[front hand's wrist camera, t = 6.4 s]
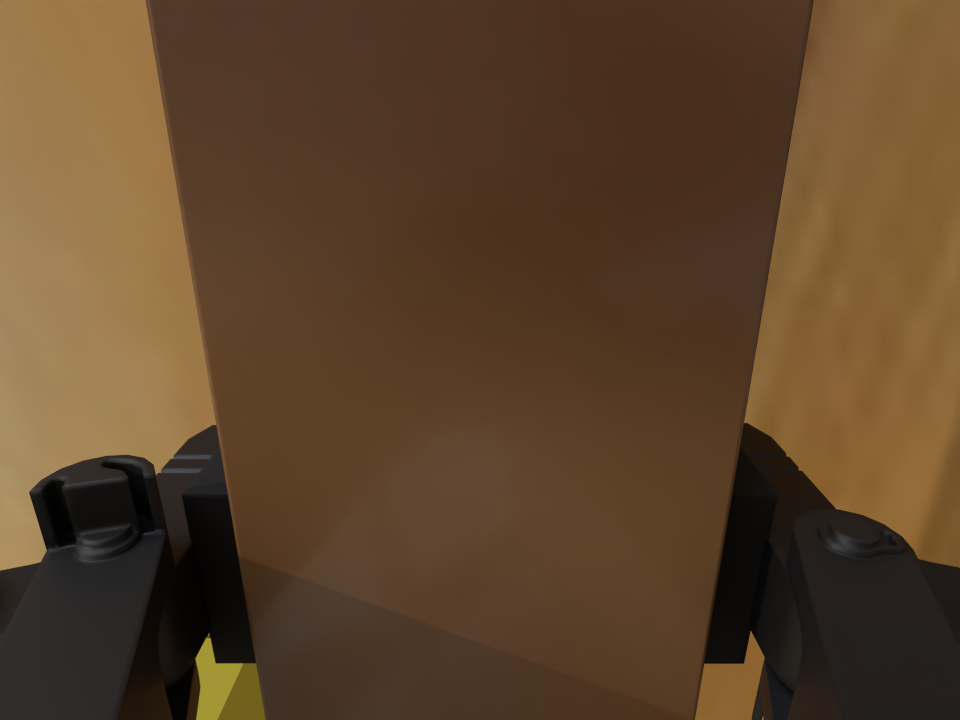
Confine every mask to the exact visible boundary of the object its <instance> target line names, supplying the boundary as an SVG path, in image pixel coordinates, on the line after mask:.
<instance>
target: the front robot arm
mask: <svg viewBox="0 0 960 720" xmlns="http://www.w3.org/2000/svg"><path fill="white" fill-rule="evenodd" d="M29 493H30V497H31V500H32V503H33V506H34V510H35V513H36V516H37V519H38V523H39V526H40V529H41V533H42V536H43V539H44V542H45V546H46V549H47V552H46V553H45V555H44V557H43V559H42V561H41V562H40V563H36V564H32V565H27V566H22V567H17V568H12V569H7V570H2V571H0V720H196V718H197V710H198V703H199V695H200V687H201V686H200V679H199V672H198V668H197V663H196V657H197V655H198V653H199V651H200V649H201V647H202V645H203V643H204V641H205V639H206V637H207V636H208V634H209V633H210V638H211V643H212V648H213V653H214V658H215V663H256V660H255V654H254V648H253V642H252V636H251V630H250V624H249V618H248V612H247V606H246V600H245V594H244V587H243V581H242V575H241V569H240V563H239V557H238V551H237V545H236V539H235V533H234V527H233V521H232V515H231V509H230V503H229V497H228V491H227V485H226V479H225V473H224V467H223V461H222V455H221V449H220V443H219V437H218V431H217V425H212V426H210V427H209V428H207V429H205V430H203V431H202V432H200V433H198V434H197V435H195V436H193V437H191V438H190V439H188V440H187V441H186V442H185V444H184V445H183V446H182V447H181V448H180V449H179V450H178V451H177V453H176V454H175V455H174V459H170V460H169V462H168V463H167V464H166V465H165V466H164V467H163V468H162V469H161V473H158V474H157V475H156V474H155V469H154V465H153V464H152V463H150V462H149V461H148V460H146V459H145V458H142V457H136V456H131V455H116V456H104V457H99V458H94V459H89V460H85V461H81V462H79V463H76V464H73V465H70V466H68V467H65V468H62V469H60V470H58V471H56V472H54V473H53V474H51V475H49V476H47V477H46V478H44V479H42V480H41V481H40V482H39V483H38V484H37V485H36V486H35V487H34V488H33V489H32V490H31V491H30V492H29ZM750 631H752V633H753V635H754V637H755V639H756V641H757V643H758V645H759V647H760V649H761V651H762V652H763V654H764V656H765V659H764V663H763V668H762V672H761V677H760V682H759V686H758V691H757V696H756V700H755V705H754V709H753V714H752V720H762V716H764V720H960V568H958V567H953V566H948V565H943V564H937V563H932V562H927V561H923V560H919V559H918V558H917V556H916V554H915V552H914V550H913V549H912V548H911V547H910V545H909V544H908V543H907V542H906V541H905V539H904V538H903V537H902V536H900V535H899V534H898V533H896V532H895V531H893V530H892V529H890V528H889V527H887V526H886V525H884V524H882V523H880V522H877V521H875V520H873V519H870V518H868V517H866V516H863V515H860V514H855V513H851V512H847V511H843V510H836V508H835V507H834V506H833V505H832V504H831V503H830V502H829V501H828V500H827V498H826V497H825V496H824V495H823V494H822V493H821V492H820V491H819V490H818V488H817V487H816V486H815V485H814V484H813V483H812V482H811V481H810V480H809V478H808V477H807V476H806V475H805V474H804V473H803V472H802V471H799V470H798V466H797V465H796V464H795V463H794V462H793V461H792V459H791V458H790V457H786V453H785V452H784V451H783V449H782V448H781V447H780V446H779V445H778V444H777V443H776V442H775V441H774V439H773V438H772V437H770V436H769V435H767V434H765V433H763V432H762V431H760V430H758V429H756V428H755V427H753V426H751V425H749V424H748V423H744V425H743V431H742V437H741V443H740V449H739V455H738V461H737V467H736V473H735V480H734V486H733V492H732V498H731V504H730V510H729V516H728V522H727V528H726V534H725V540H724V546H723V552H722V558H721V564H720V570H719V576H718V582H717V588H716V595H715V601H714V607H713V613H712V619H711V625H710V631H709V637H708V643H707V649H706V655H705V661H704V664H744V660H745V655H746V650H747V645H748V640H749V636H750Z"/></svg>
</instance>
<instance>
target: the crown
mask: <svg viewBox="0 0 960 720" xmlns="http://www.w3.org/2000/svg"><path fill="white" fill-rule="evenodd" d="M196 663H197V668H198V672H199V679H200V686H201V687H200V695H199V703H198V710H197V718H196V720H265V714H264V708H263V702H262V696H261V690H260V684H259V678H258V672H257V666H256V663H215V658H214V653H213V648H212V643H211V638H206V639H205V641H204V643H203V645H202V647H201V649H200V651H199V653H198V655H197V657H196Z"/></svg>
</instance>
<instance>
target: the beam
mask: <svg viewBox="0 0 960 720" xmlns="http://www.w3.org/2000/svg"><path fill="white" fill-rule="evenodd" d="M813 1H814V0H146V5H147V11H148V17H149V23H150V29H151V35H152V41H153V47H154V53H155V59H156V65H157V71H158V77H159V83H160V89H161V95H162V101H163V107H164V113H165V119H166V125H167V131H168V137H169V143H170V149H171V155H172V161H173V167H174V173H175V179H176V185H177V191H178V197H179V203H180V209H181V215H182V221H183V227H184V233H185V239H186V245H187V251H188V257H189V263H190V269H191V275H192V281H193V287H194V293H195V299H196V305H197V311H198V317H199V323H200V329H201V335H202V341H203V347H204V353H205V359H206V365H207V371H208V377H209V383H210V389H211V395H212V401H213V407H214V413H215V419H216V425H217V431H218V437H219V443H220V449H221V455H222V461H223V467H224V473H225V479H226V485H227V491H228V497H229V503H230V509H231V515H232V521H233V527H234V533H235V539H236V545H237V551H238V557H239V563H240V569H241V575H242V581H243V587H244V594H245V600H246V606H247V612H248V618H249V624H250V630H251V636H252V642H253V648H254V654H255V660H256V666H257V672H258V678H259V684H260V690H261V696H262V702H263V708H264V714H265V720H695V716H696V710H697V704H698V697H699V691H700V685H701V679H702V673H703V667H704V661H705V655H706V649H707V643H708V637H709V631H710V625H711V619H712V613H713V607H714V601H715V595H716V588H717V582H718V576H719V570H720V564H721V558H722V552H723V546H724V540H725V534H726V528H727V522H728V516H729V510H730V504H731V498H732V492H733V486H734V480H735V473H736V467H737V461H738V455H739V449H740V443H741V437H742V431H743V425H744V419H745V413H746V407H747V401H748V395H749V389H750V383H751V377H752V371H753V364H754V358H755V352H756V346H757V340H758V334H759V328H760V322H761V316H762V310H763V304H764V298H765V292H766V286H767V280H768V274H769V268H770V262H771V256H772V249H773V243H774V237H775V231H776V225H777V219H778V213H779V207H780V201H781V195H782V189H783V183H784V177H785V171H786V165H787V159H788V153H789V147H790V140H791V134H792V128H793V122H794V116H795V110H796V104H797V98H798V92H799V86H800V80H801V74H802V68H803V62H804V56H805V50H806V44H807V38H808V32H809V25H810V19H811V13H812V7H813Z"/></svg>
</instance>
